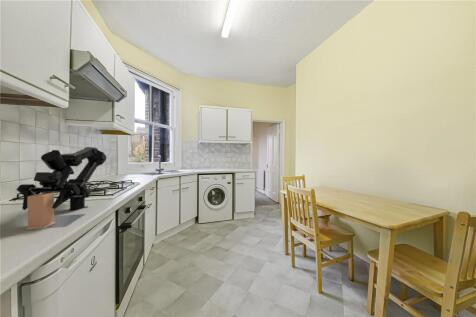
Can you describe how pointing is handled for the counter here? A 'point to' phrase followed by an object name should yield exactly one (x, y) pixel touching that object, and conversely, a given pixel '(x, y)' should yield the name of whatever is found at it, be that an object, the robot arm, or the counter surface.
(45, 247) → the counter surface
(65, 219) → the baseplate
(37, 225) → the column
